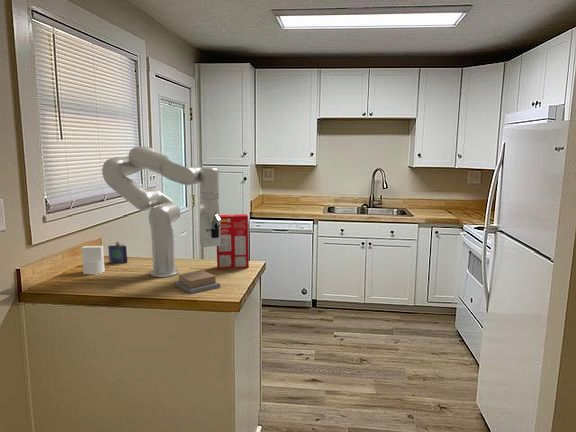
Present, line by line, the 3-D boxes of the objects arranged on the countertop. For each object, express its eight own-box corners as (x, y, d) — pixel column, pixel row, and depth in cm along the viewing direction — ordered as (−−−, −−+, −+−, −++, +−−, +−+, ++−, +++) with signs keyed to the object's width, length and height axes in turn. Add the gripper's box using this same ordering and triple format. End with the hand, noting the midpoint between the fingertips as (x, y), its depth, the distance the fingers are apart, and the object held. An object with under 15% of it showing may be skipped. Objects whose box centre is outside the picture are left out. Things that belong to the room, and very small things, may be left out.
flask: (108, 263, 218) (106, 242, 217) (111, 261, 221) (109, 240, 220) (126, 263, 217) (124, 242, 216) (128, 262, 220) (127, 241, 219)
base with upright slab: (107, 269, 207) (106, 244, 205) (100, 274, 198) (98, 248, 196) (88, 269, 207) (86, 244, 205) (80, 275, 198) (78, 249, 196)
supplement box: (204, 247, 189) (204, 218, 187) (199, 244, 195) (199, 216, 193) (221, 246, 192) (221, 217, 190) (215, 242, 199) (215, 215, 197)
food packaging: (247, 265, 214) (247, 214, 210) (248, 268, 209) (247, 215, 205) (217, 266, 212) (215, 215, 208) (217, 269, 207) (215, 216, 203)
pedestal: (174, 284, 183) (174, 274, 182) (202, 279, 191) (202, 269, 190) (191, 293, 171) (190, 282, 171) (220, 287, 180) (220, 276, 179)
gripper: (192, 195, 195) (193, 233, 197) (212, 198, 181) (212, 240, 184) (207, 194, 199) (208, 232, 202) (227, 197, 186) (228, 238, 189)
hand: (210, 235), depth 193 cm, fingers closed on supplement box, 8 cm apart
